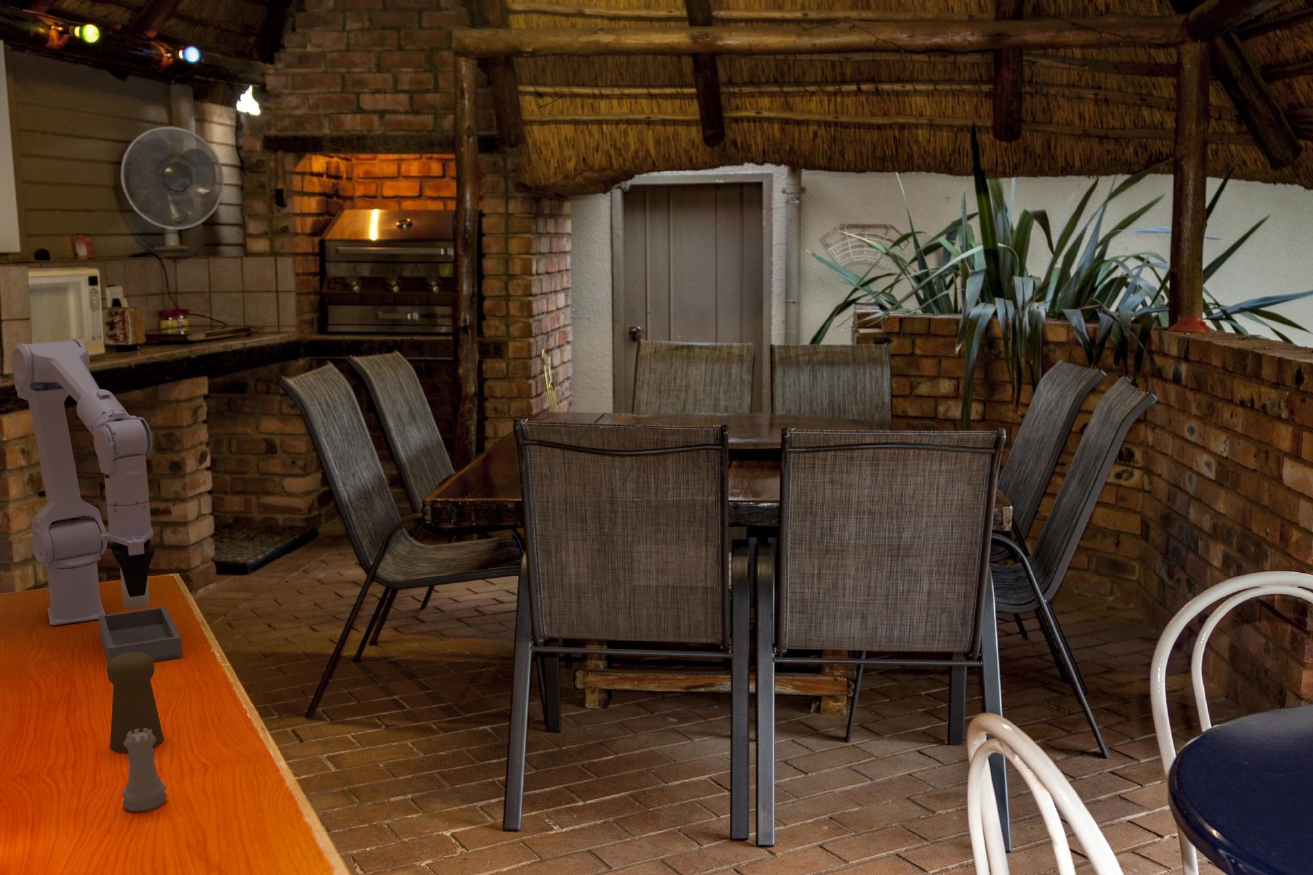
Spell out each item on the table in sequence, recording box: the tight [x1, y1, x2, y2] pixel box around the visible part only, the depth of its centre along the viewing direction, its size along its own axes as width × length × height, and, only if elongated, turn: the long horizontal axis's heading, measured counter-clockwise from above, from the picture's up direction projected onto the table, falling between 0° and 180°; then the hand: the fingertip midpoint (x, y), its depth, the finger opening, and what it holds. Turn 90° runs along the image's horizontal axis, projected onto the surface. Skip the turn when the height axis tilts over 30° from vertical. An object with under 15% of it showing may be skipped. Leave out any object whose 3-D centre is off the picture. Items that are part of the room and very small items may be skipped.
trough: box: [98, 606, 183, 664], centre depth 186 cm, size 18×10×3 cm, turn 28°
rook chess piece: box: [121, 728, 168, 813], centre depth 133 cm, size 4×4×8 cm
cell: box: [119, 566, 151, 609], centre depth 184 cm, size 4×4×7 cm
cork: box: [106, 652, 165, 755], centre depth 149 cm, size 6×6×11 cm
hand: (135, 592), depth 185 cm, fingers closed on cell, 4 cm apart
